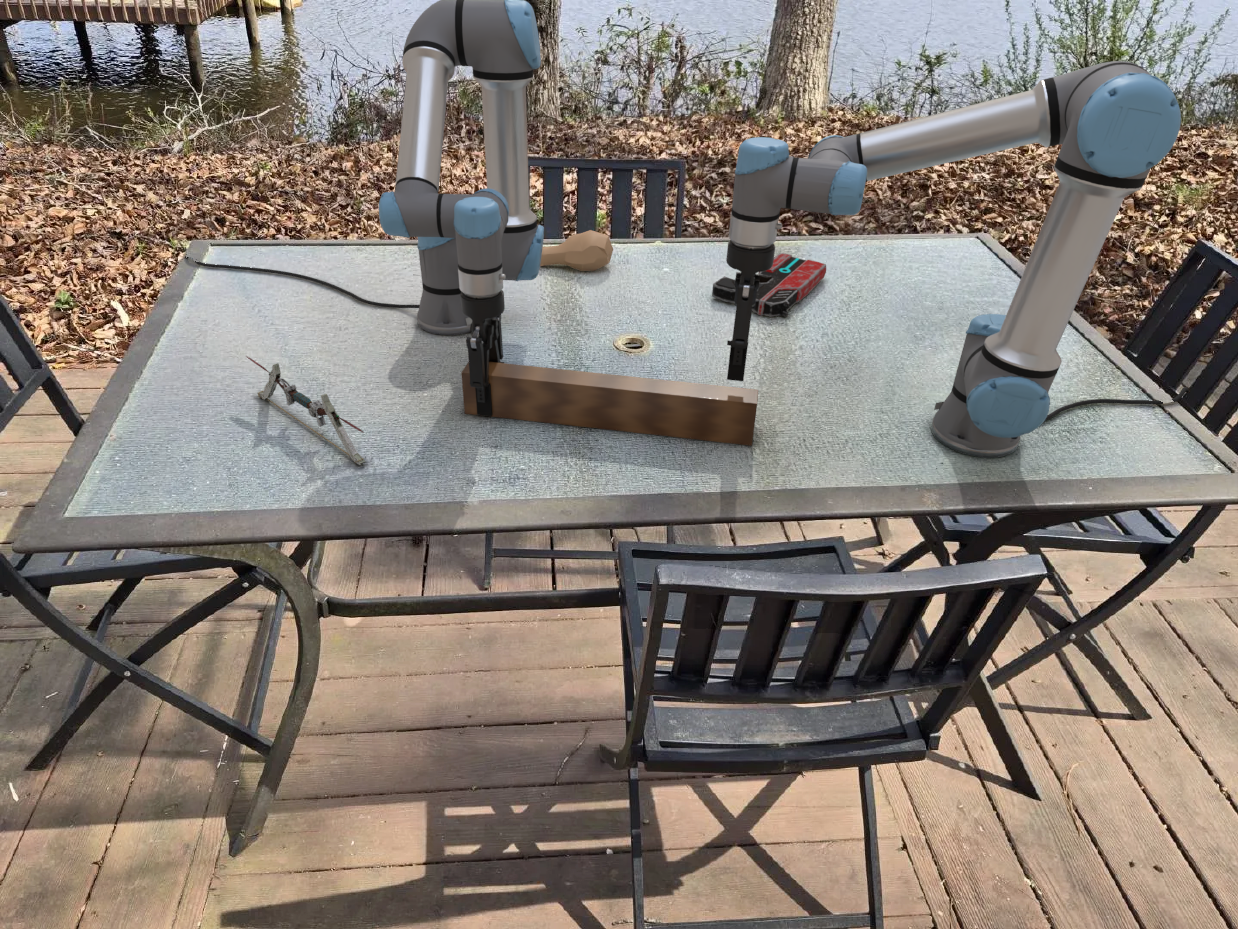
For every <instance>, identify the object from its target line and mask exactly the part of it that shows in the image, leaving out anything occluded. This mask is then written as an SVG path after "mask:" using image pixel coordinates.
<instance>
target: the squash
mask: <svg viewBox="0 0 1238 929" xmlns="http://www.w3.org/2000/svg"><path fill="white" fill-rule="evenodd" d="M613 252H614V247H613V244H612V242H611V240H610V236H609V235H607V234H605V233H602V232H598V231H594V230H592V229H589V230H587V231H584V232H580V233H575V234H571V235H570V236H569V237H568V238H566V239H565V241H564V242H562V243H560V244H558V245H550V246H543V248H542V256H541V263H540V267H545V266H551V265H552V266H553V265H562V266H567V267H570V268H572V269H575V270H578V271H580V272H595V271H597V270H599V269H601V268H603V267H605V266H608V265H609V264H610V262H611V261H612V260H611V259H612V256H613Z"/></svg>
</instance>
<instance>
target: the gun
mask: <svg viewBox="0 0 1238 929" xmlns="http://www.w3.org/2000/svg"><path fill="white" fill-rule="evenodd" d="M826 273H827V264H826V263H823V262H820V261H816V260H812V259H802V258H799V257H795V256H793V255H792V254H791V253H784V252H780V253H778V254H777V255H774V261H773V266H772V267H771V268H770V269H769V270H767V271H764V272H757V274H760V282H759V289H758V291H757V293H756V302H755V303H756V309H752V313H755V314H757V315H758V316H760V317H761V316H765V317H770V318H771V317H777V316H780V317H784V318H787V317H788V315H789V311H788V310H790V309H791V308H792V307H793V306H794V305H795V304H798V303H799V302H801V301H802V300H803V299H804V298H805V297H807V296H808V295H809V294H810V293H811V292H812V291H813V290H814V289H815V287H817V285H818V284H820V283H821V282H822V280H823V279H824V278H825V276H826ZM734 286H735V279H734V278H731V277H727V276H722V277H720V279H717V281H715V282H713V283H712V291H711V297H713V298H714V299H716V300H719V301H723V302H727V303H730V304H734V298H735V288H734Z"/></svg>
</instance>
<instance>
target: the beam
mask: <svg viewBox="0 0 1238 929" xmlns="http://www.w3.org/2000/svg"><path fill="white" fill-rule="evenodd" d="M460 376H461V387H462V398H463V409H464V410H463V411H464V414H465V415H474V416H478V415H477V404H476V391H475V387H471V386H470V373H469V361H467V363H466V364H465V366H464V368H463V369H462V370H461V373H460ZM488 382H489V383H490V384H491V398H492V414H493V415H492V416H490V418H500V419H508V420H509V419H510V420H519V421H527V422H536V423H545V424H546V423H547V424H554V425H562V426H572V427H581V428H590V429H598V430H599V429H600V430H607V431H617V432H625V433H634V434H642V435H643V434H644V435H653V436H662V437H669V438H679V439H688V440H697V441H704V442H705V441H706V442H715V443H722V444H723V443H724V444H732V445H733V444H734V445H742V446H750V447H751V446H752V447H753V440H754V433H755V426H756V417H757V409H758V402H759V389H755V388H746V387H737V386H728V385H727V386H726V385H717V384H709V383H707V384H706V383H699V382H698V383H697V382H688V381H678V380H671V379H670V380H669V379H659V378H652V377H651V378H649V377H641V376H631V375H622V374H611V373H610V374H609V373H601V372H592V371H583V370H572V369H563V368H555V367H554V368H553V367H544V366H533V365H526V364H525V365H524V364H515V363H506V362H504V363H496V362H489V381H488ZM481 416H483V415H481ZM483 417H484V416H483Z"/></svg>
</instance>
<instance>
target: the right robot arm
mask: <svg viewBox="0 0 1238 929" xmlns="http://www.w3.org/2000/svg"><path fill="white" fill-rule="evenodd" d="M1181 114H1182V113H1181V108H1180V106H1179V102H1178V100H1177V98H1176V95H1175V93H1174V91H1172V89H1171V88H1170V87H1169V85H1168V84H1167V83H1166V82H1165V81H1163V80H1162V79H1160V78H1159V77H1157V76H1155V75H1152V74H1151V73H1150V72H1149V71H1147V70H1146V68H1144V67H1142V66H1141V65H1138V64H1137V63H1134V62H1130V61H1126V60H1125V61H1124V60H1112V61H1106V62H1101V63H1097V64H1094V65H1090V66H1086V67H1083V68H1080V69H1076V70H1073V71H1070V72H1066V73H1063V74H1059V75H1056V76H1051V77H1048V78H1045V79H1041V80H1039V81H1038V82H1037V84H1036V85H1035V86H1034V87H1033V88H1032V89H1030V90H1026V91H1022V92H1018V93H1014V94H1010V95H1006V96H1002V97H999V98H995V99H991V100H990V99H989V100H986V101H981V102H977V103H974V104H970V105H966V106H962V107H959V108H955V109H951V110H947V111H943V112H938V113H934V114H931V115H927V116H923V117H920V118H915V119H911V120H907V121H904V122H899V123H895V124H892V125H887V126H883V127H879V128H875V129H872V130H867V131H863V132H860V133H857V134H851V135H848V136H843V135H837V134H832V135H828V136H825V137H823V138H821V139H820V140H819V141H818V142H817V143H816V144H815V145H814V146H813V147H812V149H811V151H810V152H809V154H808V158H806V157H805V158H804V157H796V156H791V155H790V150H789V144H788V143H787V142H786V141H785V140H783V139H779V138H778V139H777V138H774V137H765V136H760V137H759V136H756V137H750V138H747V139H745V140H743V141H742V143H740V145H739V147H738V152H737V153H738V154H737V159H736V165H735V170H734V181H733V191H732V204H731V212H730V217H729V227H728V239H729V240H728V243H727V250H726V258H725V260H726V261H725V262H726V264H727V265H728V267H730V268H731V269H734V270H737V271H736V272H735V286H734V288H735V298H734V303H733V304H734V306H735V315H734V322H733V331H732V339H731V340H727V341H726V346H730V350H729V358H728V366H727V376H726V377H727V378H726V380H727V381H735V382H744V379H745V372H746V364H747V363H746V362H747V356H748V347H749V337H750V336H749V335H750V327H751V322H752V321H751V320H752V313H753V311H752V309H756V303H755V302H756V293H757V291H758V289H759V282H760V274H758V273H759V272H764V271H767V270H769V269H770V268H771V267H772V266H773V261H774V257H775V254H776V252H775V251H776V245H775V242H776V241H777V236H778V230H781V229H782V228H783V223H782V222H779V220H780V216H781V209H786V210H796V211H797V210H798V211H803V212H811V213H812V212H813V213H821V214H827V215H831V216H855V215H857V214H858V213H860V211H861V208H862V204H863V198H864V194H865V188H866V182H870V181H874V180H879V179H883V178H888V177H891V176H892V177H893V176H896V175H900V174H904V173H909V172H913V171H917V170H922V169H926V168H931V167H936V166H941V165H945V164H949V163H953V162H957V161H963V160H966V159H970V158H975V157H979V156H980V157H981V156H983V155H988V154H993V153H997V152H1002V151H1006V150H1011V149H1015V148H1019V147H1023V146H1029V145H1033V144H1039V145H1042V146H1043V147H1045V148H1050V147H1055V146H1059V145H1061V146H1060V149H1059V152H1058V155H1057V158H1056V160H1055V162H1054V165H1053V170H1054V172H1055V174H1056V176H1057V177H1058V180H1059V183H1058V186H1057V188H1056V190H1055V194H1054V196H1053V197H1052V200H1051V203H1050V206H1049V208H1048V211H1047V213H1046V215H1045V218H1044V220H1043V223H1042V226H1041V228H1040V230H1039V233H1038V235H1037V237H1036V240H1035V243H1034V245H1033V248H1032V250H1031V252H1030V255H1029V258H1028V261H1027V262H1026V265H1025V268H1024V270H1023V273H1022V275H1021V277H1020V280H1019V282H1018V285H1017V287H1016V289H1015V292H1014V295H1013V297H1012V300H1011V302H1010V305H1009V307H1008V309H1007V312H1006V314H1001V313H1000V314H998V313H985V314H980V315H976V316H975V317H973V318H972V319H971V321H970V322H969V325H968V328H967V330H966V331H965V339H964V342H963V347H962V351H961V354H960V357H959V362H958V364H957V369H956V372H955V376H954V380H953V384H952V388H951V391H950V393H948V395H947V397H946V398H945V400H944V401H938V402H935V405H934V411H936V413H935V414H934V416H933V417H932V418H933V419H932V422H931V425H930V430H931V434H932V435H933V436H934V438H935V439H936V440H937V441H938V442H939V443H941V444H942V445H943V446H945V447H947V448H949V450H950V449H951V450H953V451H955V452H957V453H961V454H963V455H967V456H971V457H976V458H986V459H992V458H993V459H995V458H1003V457H1006V456H1009V455H1011V454H1013V453H1014V452H1015V451H1016V450H1017V449H1018V446H1019V444H1020V440H1021V436H1023V435H1026V434H1030V433H1032V432H1033V431H1035V430H1037V429H1038V428H1039V427H1041V425H1042V424H1043V423H1044V422H1046V421H1048V420H1051V419H1052V418H1053V417H1056V416H1057V415H1059V414H1061V413H1063V412H1065V411H1068V410H1071V409H1074V408H1076V407H1082V406H1087V405H1093V404H1117V405H1118V404H1119V405H1164V404H1163V402H1161V401H1159V400H1160V399H1157V400H1156V399H1155V400H1156V401H1149V400H1150V399H1119V398H1095V399H1086V400H1085V399H1084V400H1081V401H1076V402H1072V403H1069V404H1066V405H1063V406H1061V407H1059V408H1057V409H1055V410H1054V411H1052V412H1051V413H1049V412H1050V405H1051V397H1050V394H1049V392H1050V389H1051V387H1052V385H1053V382H1054V381H1055V378H1056V377H1057V374H1058V371H1059V369H1060V367H1061V365H1062V358H1061V356H1060V354H1059V353H1058V350H1057V348H1058V346H1059V344H1060V342H1061V339H1062V338H1063V335H1064V334H1065V330H1066V329H1067V326H1068V323H1069V321H1070V319H1071V317H1072V314H1073V312H1074V310H1075V308H1076V306H1077V305H1078V301H1079V299H1080V297H1081V295H1082V293H1083V291H1084V289H1085V286H1086V284H1087V281H1088V279H1089V277H1090V274H1091V273H1092V270H1093V268H1094V266H1095V263H1096V262H1097V259H1098V257H1099V255H1100V253H1101V251H1102V249H1103V246H1104V243H1105V241H1106V239H1107V238H1108V236H1109V232H1110V231H1111V228H1112V226H1113V223H1114V222H1115V219H1116V217H1117V215H1118V213H1119V210H1120V208H1121V206H1122V204H1123V202H1124V200H1125V198H1126V197H1128V196H1129V195H1132V194H1134V193H1135V192H1138V191H1140V190H1141V189H1142V188H1143V187H1144V184H1145V182H1146V180H1147V178H1148V175H1149V173H1150V171H1151V169H1152V168H1153V167H1154V166H1156V165H1157V164H1159V163H1160V162H1161V161H1162V160H1163V159H1165V157H1166V156H1167V155H1168V154H1169V153H1170V151H1171V149H1172V148H1173V146H1174V145H1175V143H1176V141H1177V138H1178V135H1179V133H1180V130H1181V122H1182V115H1181ZM1186 393H1190V389H1189V387H1188V386H1184V387H1183V388H1181V390H1180V392H1179V393H1178V394H1176V396H1175V397H1173V398H1171V399H1172V400H1173V401H1174V403H1176V402H1179V401H1180V400H1181V399H1182V398H1183V397H1184V395H1185V394H1186Z"/></svg>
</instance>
